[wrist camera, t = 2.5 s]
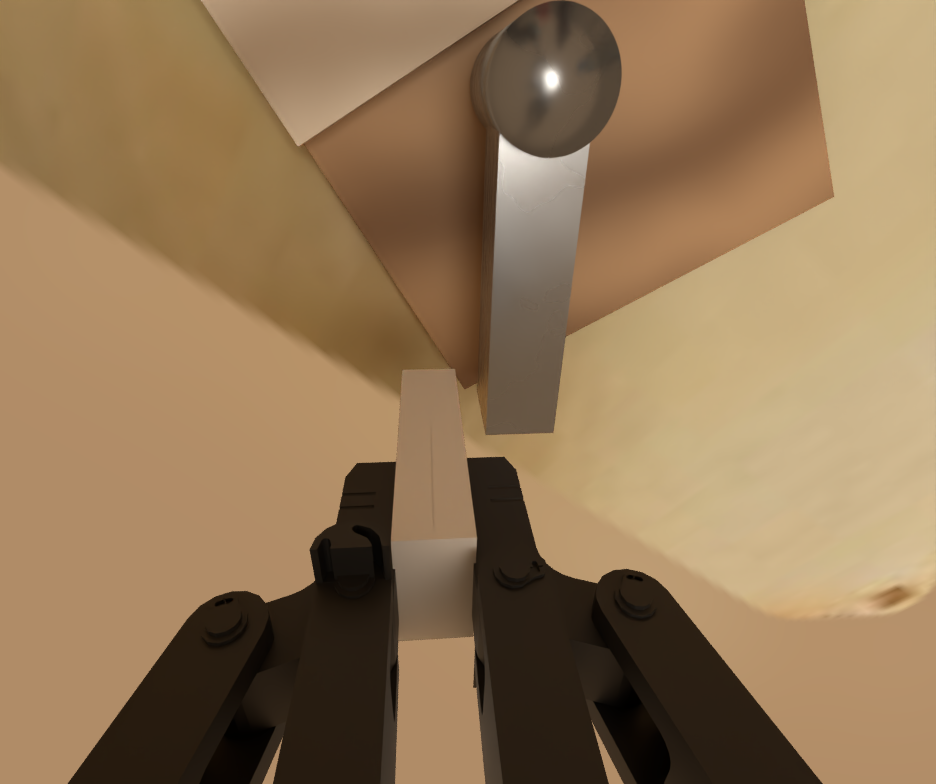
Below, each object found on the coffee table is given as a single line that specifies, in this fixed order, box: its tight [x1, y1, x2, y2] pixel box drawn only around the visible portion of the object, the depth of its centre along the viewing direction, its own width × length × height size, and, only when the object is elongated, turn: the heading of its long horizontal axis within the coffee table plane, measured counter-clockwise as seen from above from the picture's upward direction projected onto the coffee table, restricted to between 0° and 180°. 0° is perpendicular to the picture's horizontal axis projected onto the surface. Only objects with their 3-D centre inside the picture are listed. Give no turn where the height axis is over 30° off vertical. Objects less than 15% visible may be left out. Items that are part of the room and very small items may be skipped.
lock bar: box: [470, 0, 622, 435], centre depth 17 cm, size 12×3×5 cm, turn 179°
